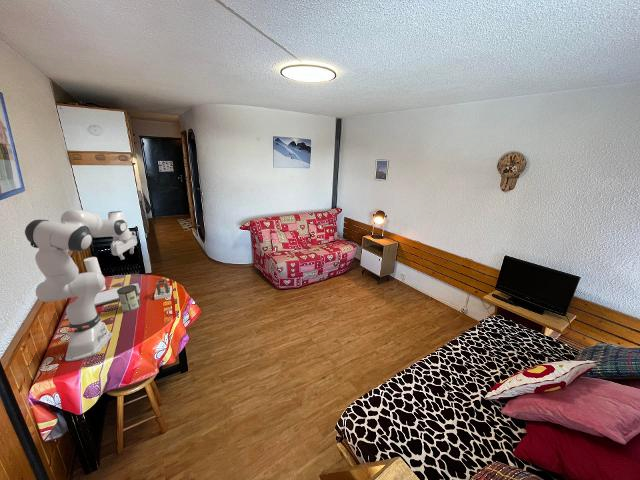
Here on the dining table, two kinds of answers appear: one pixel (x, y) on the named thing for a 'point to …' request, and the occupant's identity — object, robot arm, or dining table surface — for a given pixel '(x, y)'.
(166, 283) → the brown open box frame
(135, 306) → the coffee can
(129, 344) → the dining table surface
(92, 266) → the cylindrical container
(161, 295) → the cream tray
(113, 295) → the tray
